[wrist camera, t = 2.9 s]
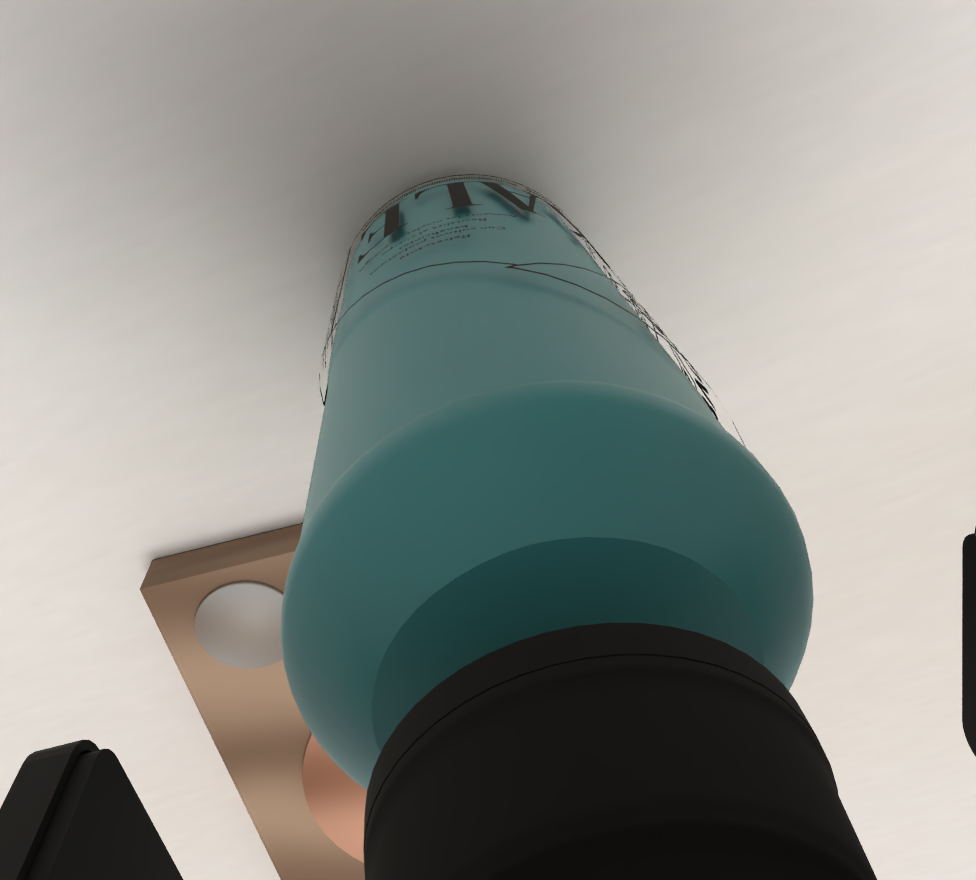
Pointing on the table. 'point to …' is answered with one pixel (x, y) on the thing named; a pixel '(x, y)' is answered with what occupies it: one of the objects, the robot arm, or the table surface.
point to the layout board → (257, 700)
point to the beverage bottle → (546, 577)
